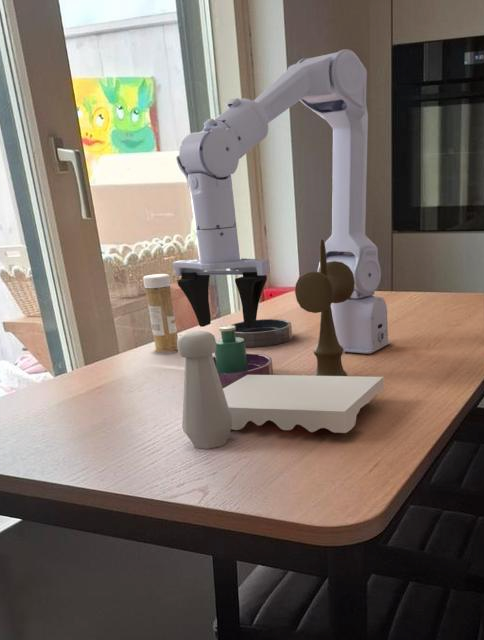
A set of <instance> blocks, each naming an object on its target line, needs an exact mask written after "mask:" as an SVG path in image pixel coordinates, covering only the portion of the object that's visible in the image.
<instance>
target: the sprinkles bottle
mask: <svg viewBox="0 0 484 640" xmlns="http://www.w3.org/2000/svg"><path fill="white" fill-rule="evenodd" d="M142 281H143V287H144V288H145V289H144V290H145V293H146V300H147V307H148V314H149V319H150V326H151V331H152V336H153V340H154V346H155V348H154V351H155V352H157V353H167V352H168V353H169V352H174V351H178V349H177V340H178V338H179V336H178V329H177V321H176V317H175V316H176V315H175V310H174V304H173V299H172V298H173V297H172V293H171V292H172V291H171V285H172V284H171V277H170V275H169V274H168V273H154V274H148V275H145V276H143V277H142Z"/></svg>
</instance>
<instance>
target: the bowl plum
mask: <svg viewBox="0 0 484 640" xmlns="http://www.w3.org/2000/svg"><path fill="white" fill-rule="evenodd" d="M246 358H247V367H248V370H247V371H242V372H234V373H218V375H219V378H220V382H221V385H222V388H225V387H227V386H229V385H230V384H232V383H234V382H236V381H237V380H239V379H241V378H243V377H244V376H246V375H274V368H273V367H274V366H273V359H272V357H270V356H269V355H267V354H266V355H265V354H262V353H252V352H251V353H250V352H246ZM213 359H214V362H215V366H216V359H215V355H213ZM216 369H217V367H216Z"/></svg>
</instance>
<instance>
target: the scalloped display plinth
mask: <svg viewBox="0 0 484 640" xmlns="http://www.w3.org/2000/svg"><path fill="white" fill-rule="evenodd" d="M382 390H384V376H362V375H361V376H356V375H353V376H352V375H351V376H350V375H347V376H314V375H300V374H299V375H297V374H296V375H292V374H291V375H290V374H273V375H246V376H244V377H243V378H241V379H239V380H237V381H236V382H234V383H232V384H230V385H229V386H227V387H225V388H223V391H224V394H225V398H226V401H227V404H228V407H229V410H230V414H231V417H232V427H231V430H233V431H237V430H238V431H239V430H242V429H244V428H245V426H246V424H247V423H248V422H252V423H254V424H255V425H256V426H262V425H264V424H265V423H266V422H267V421H271V422H272V423H274V424H275V425H276V426H277V427H278V428H279V429H281V430H282V431H292V430H293V429H294V428H295V427H296V426H297V425H299V426H301V427H303V428H304V429H305V430H307V431H308V432H309V433H315V432H317V431H318V430H320V429H326V430H328V431H330V432H332V433H335V434H336V433H340V434H347V433H348V432H350V431H351V430H353V428H354V427H355V426H356V423H357V415H358V414H359V413H360V409H361V408H363V407H364V406H365V405H367V404H369V403H370V402H371V400H372V399H373V398H374V397H375V396H377V394H379V393H380V392H382Z"/></svg>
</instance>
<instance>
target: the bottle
mask: <svg viewBox="0 0 484 640" xmlns="http://www.w3.org/2000/svg"><path fill="white" fill-rule="evenodd" d="M235 329H236V327H235V326H233V325H232V324H228V325H222V326H219V328H218V330H219V331H220V334H221V338H217V339H215V340H216V351H215V353H214V356H215V359H216V367H217V372H218V373H234V372H242V371H247V370H248V367H247V358H246V353H247V350H246V349H247V348H246V347H245V340H244V338H240V337H235Z"/></svg>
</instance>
